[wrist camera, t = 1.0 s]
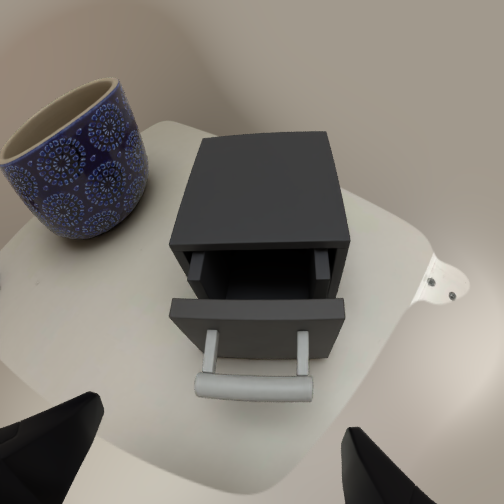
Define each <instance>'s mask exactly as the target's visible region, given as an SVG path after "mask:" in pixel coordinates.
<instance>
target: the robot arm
mask: <svg viewBox="0 0 504 504" xmlns="http://www.w3.org/2000/svg"><path fill="white" fill-rule="evenodd" d="M103 415H104V407H103V404H102V401H101V398H100V396H99V395H98V394H97V393H94V392H91V391H89V392H86V393H84V394H82V395H80V396H77V397H75V398H73V399H71V400H68V401H66V402H64V403H62V404H59V405H57V406H55V407H53V408H50V409H48V410H46V411H44V412H41V413H39V414H36V415H34V416H31V417H29V418H27V419H24V420H22V421H21V422H17V423H14V424H12V425H9V426H6V427H3V428H0V504H62V503H63V501H64V499H65V497H66V495H67V493H68V491H69V488H70V486H71V484H72V482H73V480H74V478H75V476H76V474H77V472H78V470H79V468H80V466H81V464H82V462H83V461H84V458H85V457H86V455H87V453H88V451H89V449H90V447H91V445H92V443H93V440H94V438H95V435H96V433H97V430H98V427H99V425H100V422H101V420H102V417H103ZM341 456H342V483H343V491H344V497H345V504H436V503H435V502H434V501H432V500H431V499H430V498H429V497H428V496H427V495H426V494H424V492H422V491H421V490H420V489H419V488H418V487H417V486H415V484H414V483H413V482H412V481H411V480H410V479H409V478H408V477H407V476H406V475H405V474H404V473H403V472H402V471H401V470H400V469H399V468H398V467H397V466H396V465H395V464H394V463H393V462H392V461H391V459H390V458H389V457H388V456H387V455H386V454H385V453H384V452H383V451H382V450H381V449H380V448H379V447H378V446H377V445H376V444H375V443H374V442H373V441H372V440H371V439H370V438H369V436H368V435H367V434H366V433H365V432H364V431H363V430H362V429H361V428H360V427H349V428H347V430H346V432H345V435H344V437H343V440H342V443H341Z"/></svg>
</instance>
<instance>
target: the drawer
mask: <svg viewBox="0 0 504 504" xmlns="http://www.w3.org/2000/svg"><path fill="white" fill-rule="evenodd" d="M187 281H188V283H189V284H190V286H191V288H192V289H193V291H194V293H195V294H196V296H197V298H198V299H180V298H173V299H172V304H171V309H170V314H169V318H170V319H171V320H172V321H173V322H174V323H175V324H176V325H177V327H178V328H179V329H180V330H181V331H182V332H183V333H184V334H185V335H186V336H187V337H188V338H189V339H190V340H191V341H192V342H193V343H194V344H195V345H196V346H197V347H198V348H199V349H200V350H201V351H202V352H203V353H204V359H203V367H202V372H203V373H201V372H200V373H198V374H197V376H196V379H195V394H196V396H197V397H202V398H212V399H223V400H236V401H254V402H311V401H312V398H313V378H312V376H308V375H309V358H328V356H329V354H330V352H331V349H332V347H333V345H334V343H335V341H336V338H337V336H338V334H339V332H340V329H341V327H342V325H343V322H344V320H345V308H344V299H343V298H335V299H326V297H327V292H328V288H329V283H330V269H329V259H328V249H327V248H311V249H262V250H216V251H193V253H192V258H191V263H190V268H189V273H188V277H187ZM217 357H232V358H263V359H297V376H247V375H227V374H215V368H216V359H217Z"/></svg>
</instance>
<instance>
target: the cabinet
mask: <svg viewBox="0 0 504 504" xmlns="http://www.w3.org/2000/svg"><path fill="white" fill-rule="evenodd" d="M349 244H350V235H349V229H348V224H347V219H346V214H345V209H344V204H343V199H342V194H341V189H340V185H339V181H338V176H337V172H336V168H335V163H334V159H333V156H332V151H331V148H330V144H329V140H328V136H327V133H326V132H325V131H324V132H323V131H311V132H276V133H258V134H243V135H232V136H221V137H211V138H203V139H202V142H201V145H200V148H199V151H198V153H197V156H196V159H195V162H194V165H193V168H192V171H191V174H190V177H189V180H188V183H187V186H186V189H185V192H184V195H183V198H182V202H181V205H180V208H179V211H178V215H177V218H176V221H175V225H174V228H173V232H172V235H171V239H170V242H169V246H170V248H171V250H172V251H173V253H174V255H175V257H176V259H177V260H178V262H179V264H180V266H181V267H182V269H183V271H184V273H185V274H186V276H187V277H188V273H189V268H190V263H191V258H192V253H193V251H216V250H262V249H311V248H327V249H328V259H329V269H330V283H329V288H328V292H327V297H326V299H335V298H336V295H337V291H338V288H339V284H340V280H341V276H342V273H343V269H344V265H345V261H346V257H347V253H348V249H349Z"/></svg>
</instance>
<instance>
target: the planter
mask: <svg viewBox="0 0 504 504" xmlns="http://www.w3.org/2000/svg"><path fill="white" fill-rule="evenodd" d="M0 169H1V171H2V173H3V175H4V176H5V177H6V179H7V180H8V182H9V183H10V185H11V186H12V188H13V189H14V191H15V192H16V193H17V195H18V196H19V197H20V198H21V200H22V201H23V202H24V203H25V205H26V206H27V207H28V208H29V210H30V211H31V212H32V213H33V214H34V215H35V216H36V217H37V218H38V219H39V221H40V222H41V223H43V224H44V225H45V226H46V227H47V228H48V229H49V230H50V231H52V232H53V233H55V234H56V235H58V236H61V237H65V238H69V239H86V238H91V237H95V236H98V235H100V234H102V233H104V232H106V231H108V230H110V229H111V228H113V227H115V226H116V225H117V224H119V223H120V222H121V221H122V220H123V219H124V218H126V217H127V216H128V215H129V214H130V212H131V211H132V210H133V209H134V208H135V206H136V205H137V203H138V202H139V200H140V198H141V196H142V194H143V192H144V189H145V186H146V183H147V179H148V171H149V166H148V159H147V155H146V151H145V147H144V144H143V141H142V138H141V134H140V132H139V129H138V126H137V124H136V121H135V118H134V115H133V112H132V110H131V108H130V105H129V102H128V100H127V97H126V95H125V92H124V90H123V88H122V85H121V83H120V81H119V79H117V78H114V77H113V78H112V77H111V78H103V79H99V80H96V81H92V82H90V83H87V84H85V85H82V86H80V87H78V88H76V89H74V90H72V91H70V92H68V93H66V94H64V95H62V96H61V97H59V98H57V99H56V100H54V101H53V102H51V103H50V104H48V105H47V106H45V107H44V108H43V109H41V110H40V111H39V112H37V113H36V114H35V115H33V116H32V117H31V118H30V119H29V120H28V121H26V122H25V123H24V124H23V125H22V126H21V127H20V128H19V129H18V130H17V131H16V132H15V133H14V134H13V135H12V136H11V138H10V139H9V140H8V141H7V142H6V144H5V145H4V147H3V148H2V150H1V152H0Z"/></svg>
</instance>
